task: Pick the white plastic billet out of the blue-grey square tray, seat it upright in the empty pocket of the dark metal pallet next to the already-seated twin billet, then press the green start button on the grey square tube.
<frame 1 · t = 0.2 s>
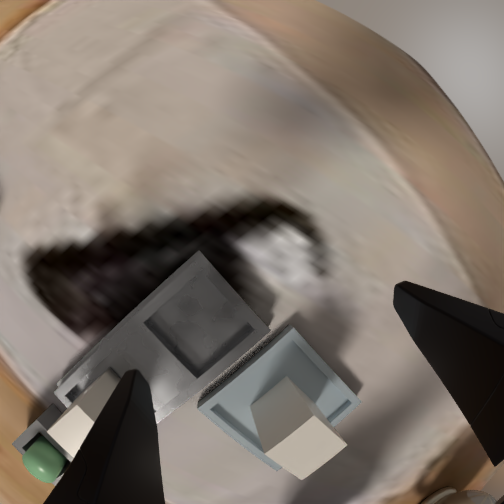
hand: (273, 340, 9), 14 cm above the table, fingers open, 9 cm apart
billet: (283, 405, 23), resting on blue-grey square tray
seated billet: (112, 398, 21), point 1 cm above the table, touching pallet
grey square tube: (60, 439, 21), on the table
start button: (45, 459, 17), point 4 cm above the table, slide at 0.0 cm
blue-grey square tray: (282, 403, 24), on the table
pallet: (154, 360, 22), on the table
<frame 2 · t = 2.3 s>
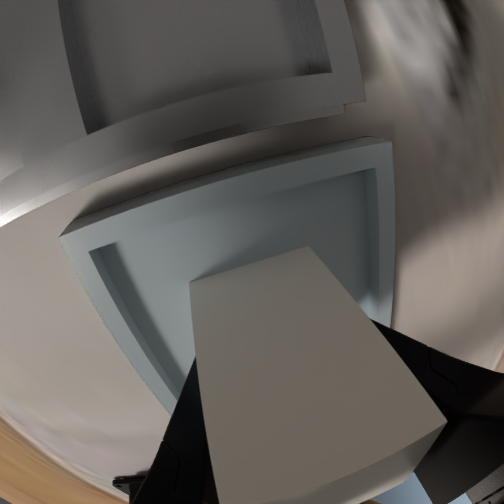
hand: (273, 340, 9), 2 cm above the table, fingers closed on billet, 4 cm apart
billet: (261, 311, 11), resting on blue-grey square tray, touching gripper
teapot: (321, 495, 28), on the table
blue-grey square tray: (258, 303, 11), on the table
pallet: (25, 75, 6), on the table
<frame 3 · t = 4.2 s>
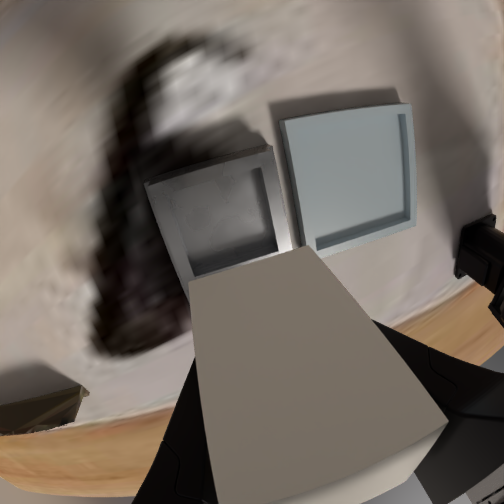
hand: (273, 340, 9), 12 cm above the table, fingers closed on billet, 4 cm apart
billet: (261, 310, 11), point 11 cm above the table, touching gripper
incense holder: (7, 405, 24), on the table
blue-grey square tray: (355, 176, 21), on the table
pallet: (238, 274, 22), on the table
when the fingers open (3 cm above the table, at t = 6.0 s): billet stays where it is, resting on pallet.
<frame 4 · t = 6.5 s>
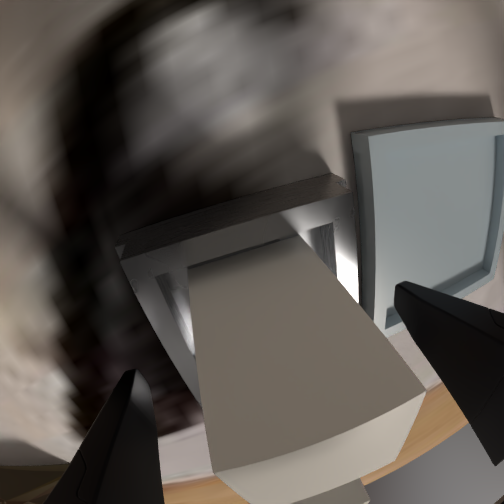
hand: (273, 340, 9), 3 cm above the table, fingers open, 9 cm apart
billet: (256, 298, 11), point 1 cm above the table, touching pallet
seated billet: (290, 423, 16), point 1 cm above the table, touching pallet
blue-grey square tray: (441, 220, 13), on the table
pallet: (271, 363, 15), on the table
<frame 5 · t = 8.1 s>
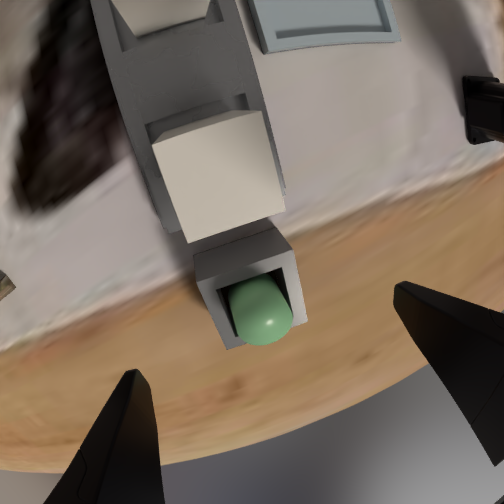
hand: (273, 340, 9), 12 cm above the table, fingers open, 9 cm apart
billet: (162, 0, 12), point 1 cm above the table, touching pallet
seated billet: (207, 152, 17), point 1 cm above the table, touching pallet
grey square tube: (246, 276, 22), on the table
start button: (258, 308, 19), point 4 cm above the table, slide at 0.0 cm
pallet: (183, 74, 15), on the table
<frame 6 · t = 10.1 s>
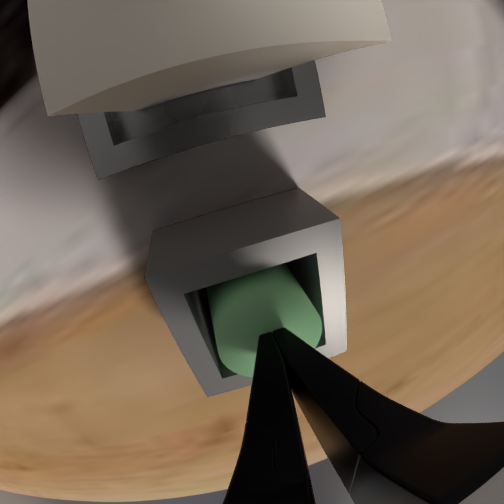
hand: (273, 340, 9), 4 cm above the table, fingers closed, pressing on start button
seated billet: (183, 38, 8), point 1 cm above the table, touching pallet
grey square tube: (244, 272, 13), on the table
start button: (259, 311, 11), point 3 cm above the table, slide at 1.1 cm, touching gripper
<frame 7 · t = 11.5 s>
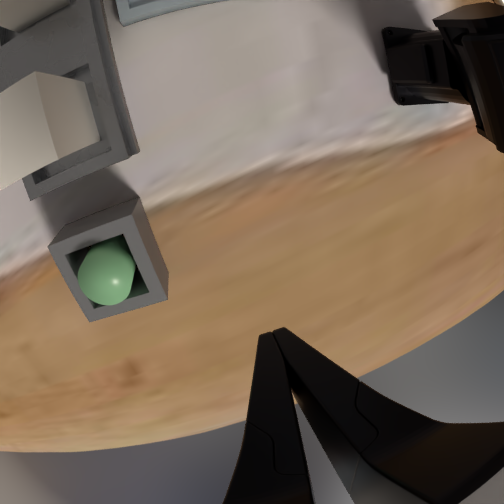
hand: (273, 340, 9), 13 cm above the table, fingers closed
seated billet: (64, 123, 15), point 1 cm above the table, touching pallet
grey square tube: (116, 249, 20), on the table
start button: (108, 268, 18), point 3 cm above the table, slide at 1.1 cm
pallet: (53, 57, 13), on the table
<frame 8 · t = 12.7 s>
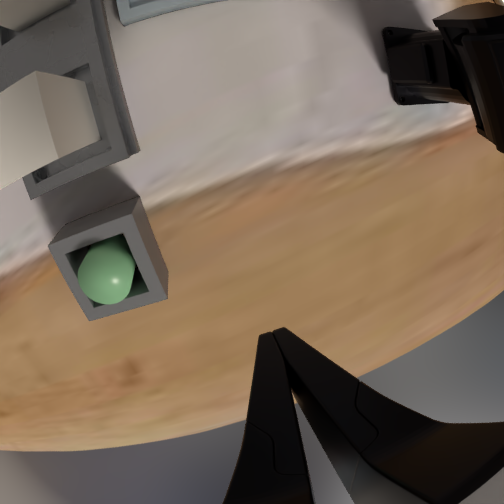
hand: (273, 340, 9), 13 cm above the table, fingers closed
seated billet: (64, 122, 15), point 1 cm above the table, touching pallet
grey square tube: (116, 248, 20), on the table
start button: (108, 267, 18), point 3 cm above the table, slide at 1.1 cm
pallet: (54, 56, 13), on the table
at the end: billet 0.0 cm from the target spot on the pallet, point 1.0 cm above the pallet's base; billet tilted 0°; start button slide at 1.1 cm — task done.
